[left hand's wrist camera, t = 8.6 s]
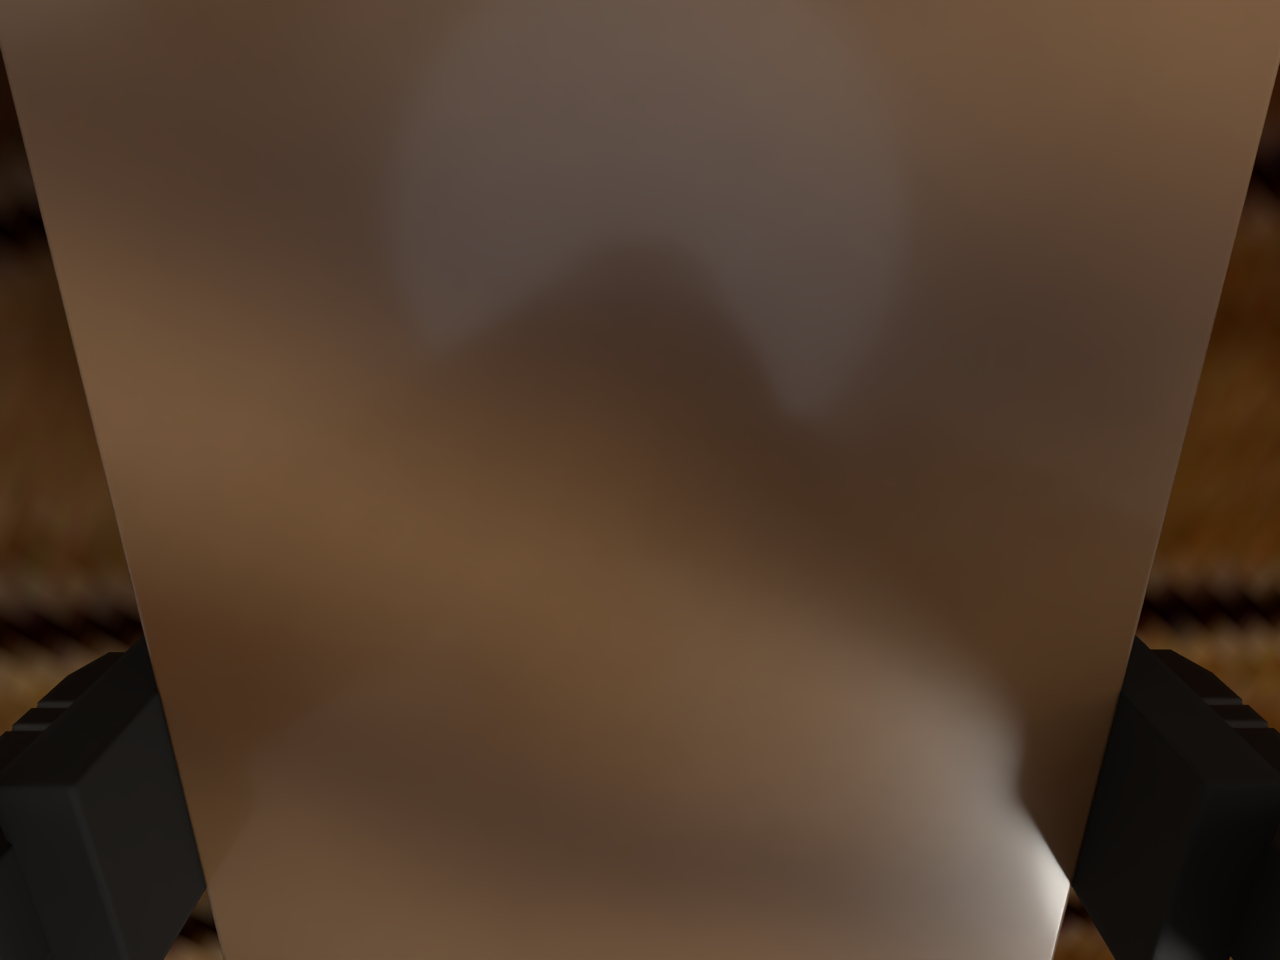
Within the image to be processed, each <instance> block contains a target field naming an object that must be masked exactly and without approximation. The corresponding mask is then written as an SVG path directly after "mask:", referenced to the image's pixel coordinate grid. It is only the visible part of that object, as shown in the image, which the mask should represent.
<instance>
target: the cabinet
mask: <svg viewBox="0 0 1280 960" xmlns="http://www.w3.org/2000/svg"><path fill="white" fill-rule="evenodd" d="M0 48H1V52H2V57H3V61H4V65H5V69H6V73H7V77H8V81H9V85H10V89H11V93H12V97H13V101H14V106H15V110H16V114H17V118H18V122H19V126H20V130H21V134H22V138H23V142H24V146H25V150H26V154H27V159H28V163H29V167H30V171H31V175H32V179H33V183H34V187H35V191H36V195H37V199H38V203H39V208H40V212H41V216H42V220H43V224H44V228H45V232H46V236H47V240H48V244H49V248H50V252H51V257H52V261H53V265H54V269H55V273H56V277H57V281H58V285H59V289H60V293H61V297H62V301H63V305H64V310H65V314H66V318H67V322H68V326H69V330H70V334H71V338H72V342H73V346H74V350H75V354H76V359H77V363H78V367H79V371H80V375H81V379H82V383H83V387H84V391H85V395H86V399H87V403H88V407H89V412H90V416H91V420H92V424H93V428H94V432H95V436H96V440H97V444H98V448H99V452H100V456H101V461H102V465H103V469H104V473H105V477H106V481H107V485H108V489H109V493H110V497H111V501H112V505H113V510H114V514H115V518H116V522H117V526H118V530H119V534H120V538H121V542H122V546H123V550H124V554H125V558H126V563H127V567H128V571H129V575H130V579H131V583H132V587H133V591H134V595H135V599H136V603H137V607H138V612H139V616H140V620H141V624H142V628H143V632H144V636H145V640H146V644H147V648H148V652H149V656H150V661H151V665H152V669H153V673H154V677H155V681H156V685H157V689H158V693H159V697H160V701H161V705H162V709H163V714H164V718H165V722H166V726H167V730H168V734H169V738H170V742H171V746H172V750H173V754H174V758H175V763H176V767H177V771H178V775H179V779H180V783H181V787H182V791H183V795H184V799H185V803H186V807H187V811H188V816H189V820H190V824H191V828H192V832H193V836H194V840H195V844H196V848H197V852H198V856H199V860H200V865H201V869H202V873H203V877H204V881H205V885H206V889H207V893H208V897H209V901H210V905H211V909H212V914H213V918H214V922H215V926H216V930H217V934H218V938H219V942H220V946H221V950H222V954H223V958H224V960H1053V958H1054V954H1055V950H1056V946H1057V942H1058V938H1059V934H1060V930H1061V926H1062V922H1063V918H1064V914H1065V910H1066V906H1067V902H1068V898H1069V894H1070V890H1071V886H1072V883H1073V879H1074V875H1075V871H1076V867H1077V863H1078V859H1079V855H1080V851H1081V847H1082V843H1083V839H1084V835H1085V831H1086V827H1087V823H1088V819H1089V815H1090V811H1091V807H1092V803H1093V799H1094V795H1095V791H1096V787H1097V784H1098V780H1099V776H1100V772H1101V768H1102V764H1103V760H1104V756H1105V752H1106V748H1107V744H1108V740H1109V736H1110V732H1111V728H1112V724H1113V720H1114V716H1115V712H1116V708H1117V704H1118V700H1119V696H1120V692H1121V688H1122V685H1123V681H1124V677H1125V673H1126V669H1127V665H1128V661H1129V657H1130V653H1131V649H1132V645H1133V641H1134V637H1135V633H1136V629H1137V625H1138V621H1139V617H1140V613H1141V609H1142V605H1143V601H1144V597H1145V593H1146V589H1147V586H1148V582H1149V578H1150V574H1151V570H1152V566H1153V562H1154V558H1155V554H1156V550H1157V546H1158V542H1159V538H1160V534H1161V530H1162V526H1163V522H1164V518H1165V514H1166V510H1167V506H1168V502H1169V498H1170V494H1171V490H1172V486H1173V483H1174V479H1175V475H1176V471H1177V467H1178V463H1179V459H1180V455H1181V451H1182V447H1183V443H1184V439H1185V435H1186V431H1187V427H1188V423H1189V419H1190V415H1191V411H1192V407H1193V403H1194V399H1195V395H1196V391H1197V387H1198V384H1199V380H1200V376H1201V372H1202V368H1203V364H1204V360H1205V356H1206V352H1207V348H1208V344H1209V340H1210V336H1211V332H1212V328H1213V324H1214V320H1215V316H1216V312H1217V308H1218V304H1219V300H1220V296H1221V292H1222V288H1223V285H1224V281H1225V277H1226V273H1227V269H1228V265H1229V261H1230V257H1231V253H1232V249H1233V245H1234V241H1235V237H1236V233H1237V229H1238V225H1239V221H1240V217H1241V213H1242V209H1243V205H1244V201H1245V197H1246V193H1247V189H1248V186H1249V182H1250V178H1251V174H1252V170H1253V166H1254V162H1255V158H1256V154H1257V150H1258V146H1259V142H1260V138H1261V134H1262V130H1263V126H1264V122H1265V118H1266V114H1267V110H1268V106H1269V102H1270V98H1271V94H1272V90H1273V86H1274V83H1275V79H1276V75H1277V71H1278V67H1279V63H1280V0H0Z"/></svg>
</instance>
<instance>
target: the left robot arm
mask: <svg viewBox="0 0 1280 960" xmlns="http://www.w3.org/2000/svg"><path fill="white" fill-rule="evenodd" d="M12 726H13V728H12V731H6V732H5V733H4V734H3V735H1V736H0V960H49V959H50V960H164V958H165V956H166V955H167V953H168V951H169V950H170V948H171V946H172V945H173V943H174V941H175V939H176V938H177V936H178V934H179V933H180V931H181V929H182V928H183V926H184V924H185V923H186V921H187V919H188V918H189V916H190V914H191V913H192V911H193V909H194V908H195V906H196V904H197V902H198V901H199V899H200V897H201V896H202V894H203V892H204V891H205V889H206V885H205V881H204V877H203V873H202V869H201V865H200V860H199V856H198V852H197V848H196V844H195V840H194V836H193V832H192V828H191V824H190V820H189V816H188V811H187V807H186V803H185V799H184V795H183V791H182V787H181V783H180V779H179V775H178V771H177V767H176V763H175V758H174V754H173V750H172V746H171V742H170V738H169V734H168V730H167V726H166V722H165V718H164V714H163V709H162V705H161V701H160V697H159V693H158V689H157V685H156V681H155V677H154V673H153V669H152V665H151V661H150V656H149V652H148V648H147V644H146V640H145V636H144V635H143V636H142V637H141V638H140V639H139V640H138V641H137V642H136V643H135V644H134V645H133V646H132V647H131V648H130V649H129V650H127V651H126V652H109V653H107V654H105V655H104V656H102V657H100V658H98V659H96V660H95V661H93V662H91V663H89V664H88V665H86V666H84V667H82V668H80V669H79V670H77V671H75V672H73V673H71V674H70V675H68V676H67V677H66V678H64V679H63V680H62V681H61V682H60V683H59V684H58V685H57V686H56V687H55V688H53V689H52V690H51V691H50V692H49V693H48V694H47V695H46V696H45V697H43V698H42V699H41V700H40V701H39V702H38V706H37V708H31V709H30V710H29V711H28V712H27V713H26V714H25V715H24V716H22V717H21V718H20V719H19V720H18V721H17V722H16V723H15V724H14V725H12ZM1072 887H1073V889H1074V891H1075V892H1076V894H1077V896H1078V897H1079V899H1080V901H1081V902H1082V904H1083V906H1084V907H1085V909H1086V911H1087V912H1088V914H1089V916H1090V917H1091V919H1092V921H1093V923H1094V924H1095V926H1096V928H1097V929H1098V931H1099V933H1100V934H1101V936H1102V938H1103V939H1104V941H1105V943H1106V944H1107V946H1108V948H1109V949H1110V951H1111V953H1112V955H1113V956H1114V958H1115V960H1229V958H1230V956H1231V957H1232V959H1233V960H1280V733H1279V732H1278V731H1276V730H1275V729H1274V728H1268V726H1267V722H1266V721H1265V720H1264V719H1263V718H1262V717H1261V716H1260V715H1259V714H1257V713H1256V712H1255V711H1254V710H1253V709H1252V708H1251V707H1250V706H1249V705H1243V704H1242V699H1241V698H1240V697H1239V696H1237V695H1236V694H1235V693H1234V692H1233V691H1232V690H1231V689H1230V688H1229V687H1227V686H1226V685H1225V684H1224V683H1223V682H1222V681H1221V680H1220V679H1219V678H1217V677H1216V676H1215V675H1214V674H1213V673H1212V672H1210V671H1208V670H1206V669H1205V668H1203V667H1201V666H1199V665H1197V664H1196V663H1194V662H1192V661H1190V660H1188V659H1187V658H1185V657H1183V656H1181V655H1179V654H1178V653H1176V652H1174V651H1172V650H1150V649H1149V648H1148V647H1147V646H1146V645H1145V644H1144V643H1143V642H1142V641H1141V640H1140V639H1139V638H1138V637H1137V636H1136V635H1135V637H1134V641H1133V645H1132V649H1131V653H1130V657H1129V661H1128V665H1127V669H1126V673H1125V677H1124V681H1123V685H1122V688H1121V692H1120V696H1119V700H1118V704H1117V708H1116V712H1115V716H1114V720H1113V724H1112V728H1111V732H1110V736H1109V740H1108V744H1107V748H1106V752H1105V756H1104V760H1103V764H1102V768H1101V772H1100V776H1099V780H1098V784H1097V787H1096V791H1095V795H1094V799H1093V803H1092V807H1091V811H1090V815H1089V819H1088V823H1087V827H1086V831H1085V835H1084V839H1083V843H1082V847H1081V851H1080V855H1079V859H1078V863H1077V867H1076V871H1075V875H1074V879H1073V883H1072Z"/></svg>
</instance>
